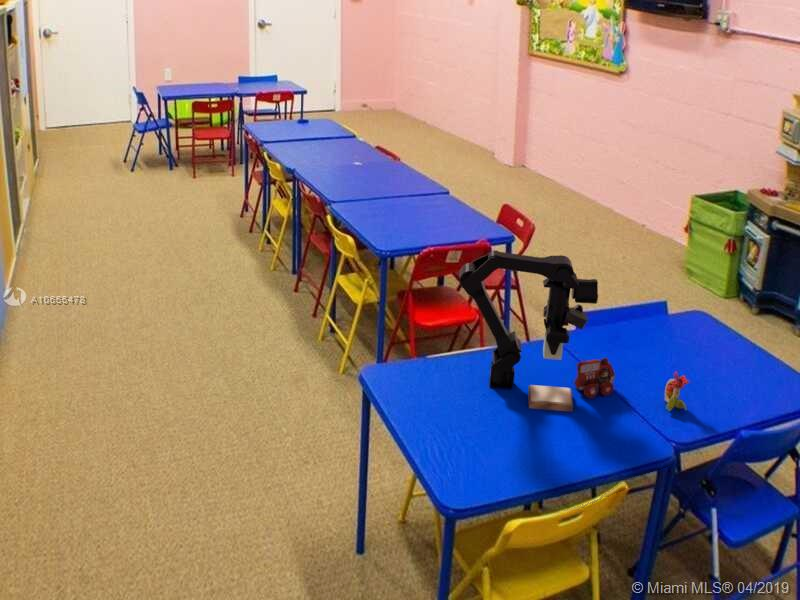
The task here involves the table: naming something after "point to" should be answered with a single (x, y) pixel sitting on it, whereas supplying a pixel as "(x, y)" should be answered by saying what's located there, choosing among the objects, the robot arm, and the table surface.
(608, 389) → the toy fire truck
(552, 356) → the white block
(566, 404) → the plinth
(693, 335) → the table surface
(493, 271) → the robot arm
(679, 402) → the bird rattle
